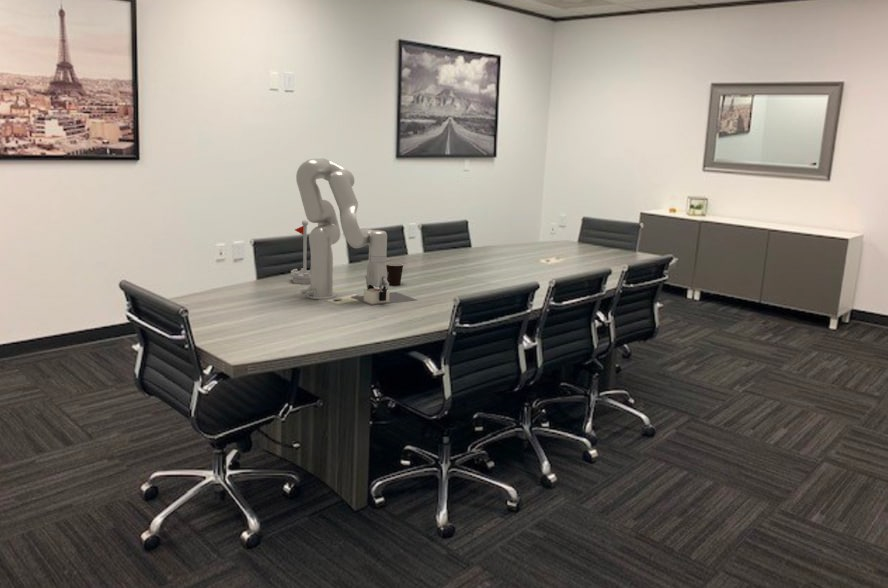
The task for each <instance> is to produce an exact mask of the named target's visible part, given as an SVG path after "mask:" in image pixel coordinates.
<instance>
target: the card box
mask: <svg viewBox="0 0 888 588" xmlns="http://www.w3.org/2000/svg"><path fill="white" fill-rule="evenodd" d="M382 289H383V287H382ZM379 292H381V291H380V289H379V287H374V289H367V288H366V289H363V296H364V301H365V302H368V303H370V304H376V303H385V302H389V293H391V292H390V290H388V289H387V292H386V301H379Z"/></svg>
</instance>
